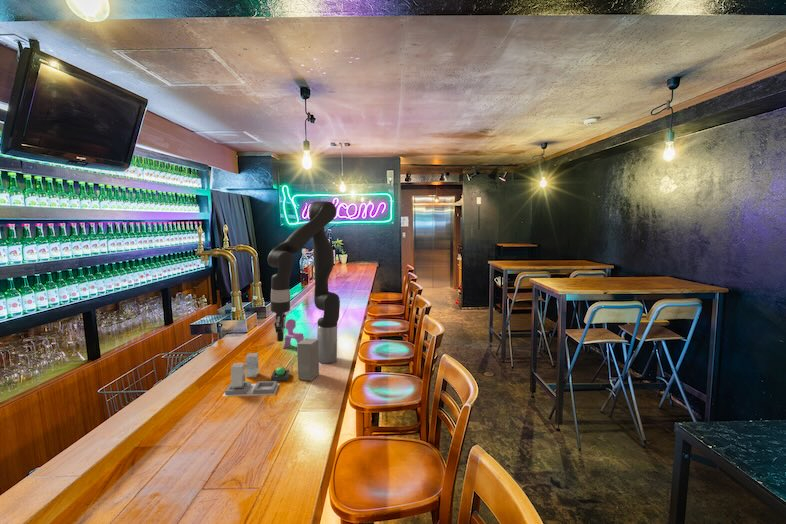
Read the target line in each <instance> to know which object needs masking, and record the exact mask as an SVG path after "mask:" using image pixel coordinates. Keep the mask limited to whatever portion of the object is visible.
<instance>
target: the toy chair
mask: <svg viewBox="0 0 786 524" xmlns="http://www.w3.org/2000/svg"><path fill="white" fill-rule="evenodd" d="M296 324H297V322H296V320H295V319H293V318H288V319H287V320H286V321H285V329H286V330H287V334H285V337H284V344H283V347H282V349H283V350H284V349H286V348H288V347H289V346H291V343H292V342H291V339H294V340H296V343H299V342H301V340H304V339H305V336H304V333H302V332H295V331H294V329H296ZM295 352H297V348H296V350H295Z"/></svg>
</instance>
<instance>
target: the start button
mask: <svg viewBox="0 0 786 524" xmlns="http://www.w3.org/2000/svg"><path fill="white" fill-rule="evenodd" d="M275 370H276V376H278V375H285V370H286V367H285V366H278V367H276V368H275Z"/></svg>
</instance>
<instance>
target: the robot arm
mask: <svg viewBox="0 0 786 524" xmlns="http://www.w3.org/2000/svg"><path fill="white" fill-rule="evenodd" d="M308 209H309V210H308V215H309V216H308V217H309V221H307V223H305V224H303V225H302V226H299V227H298V228H296V229H295V230H294V231H293V232H292V233H291V234H290V235H289V236H288V237H287V239H286V240H285V241H283V242H281V243H280V244H278V245H277V246H276V247H274V248H272V250H271V251H270V252H269V254H268V255H267V260H266V261H267V264H268V266H270V267H272V268H275V269H277V273H274V274H273V275H272V276H271V278H270V279H271V280H270V281H271V284H270V289H271V290H270V312H271V313H275V316H274V321H275V322H274V324H273V325H274V329H275V333H276V335H277V336H276V337H277V342H279V343H280V342H283V341H284V340H285V337H284V333H285V329H286V327H285V325H286V322H287V320H286V319H287V314H286V313H288V312H289V311H291V291H290V278H291V275H292V270H293V267H294V258H293V257H294V256H293V255H296V254H298V253H299V252H301V250H302V249H303V248H304V247H305V245H306V244H307V243H308V242H309V241H310V239H311V240H312V250H313V251H312V252H313V253H312V254H313V266H314V267H313V268H314V293H313V294H314V297H313V299H314V300H313V302H314V305H315V307H316V308H317V309H318V310H320V311H323V317H320V318H319V319H317V336H316V337H317V338H316V339H318V350H319V364H333V363H337V360H338V359H337V358H338V322H339V318H340V310H341V309H340V307H341V299H340V296H339V295H338V294H337V293H335V292H331V291H329V279H330V275H331V273H332V271H333V269H334V268H333V267H334V266H335V265H334V264H335V254H334V248H333V246H332V243H331V242H330V240H329V238H328V236H327V234H326V231H325V227H326V226H327V225H328V224H330V223H331V222H332V221H333V220H334V219H335V217H336V215H337V208H336V205H335V204H334V203H333V202H332V201H326V200H325V201H322V200H321V201H320V200H319V201H313V202H311V203H310V205H309V208H308Z"/></svg>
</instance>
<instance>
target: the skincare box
mask: <svg viewBox="0 0 786 524" xmlns="http://www.w3.org/2000/svg"><path fill="white" fill-rule="evenodd" d="M296 343H297V342H296ZM296 345H297V347H296V349H297V351H296V353H297V380H300V379H301V381H309V380H311V381H310V382H313V380H314V379H315V378H316V377H317V376H318V375H319V374H320V362H319V350H318V339H317V338H305V337H304V340H301V342H299V343H297V344H296Z"/></svg>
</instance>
